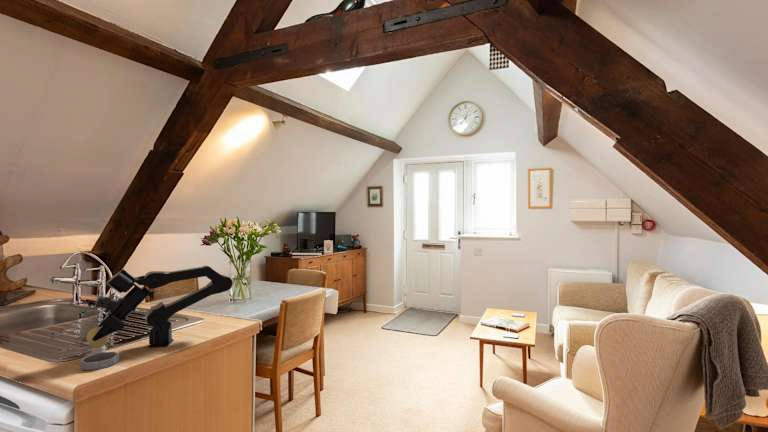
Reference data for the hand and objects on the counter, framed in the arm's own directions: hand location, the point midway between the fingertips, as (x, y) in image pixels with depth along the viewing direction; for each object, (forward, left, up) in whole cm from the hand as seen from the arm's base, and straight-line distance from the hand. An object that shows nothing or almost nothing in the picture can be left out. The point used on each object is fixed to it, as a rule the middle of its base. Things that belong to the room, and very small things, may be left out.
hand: (93, 337), depth 130 cm
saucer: (-6, +8, -7) cm, 12 cm away
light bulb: (-1, -1, -7) cm, 7 cm away
